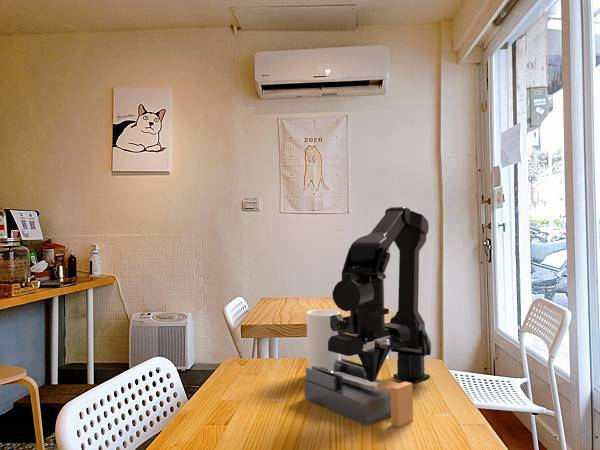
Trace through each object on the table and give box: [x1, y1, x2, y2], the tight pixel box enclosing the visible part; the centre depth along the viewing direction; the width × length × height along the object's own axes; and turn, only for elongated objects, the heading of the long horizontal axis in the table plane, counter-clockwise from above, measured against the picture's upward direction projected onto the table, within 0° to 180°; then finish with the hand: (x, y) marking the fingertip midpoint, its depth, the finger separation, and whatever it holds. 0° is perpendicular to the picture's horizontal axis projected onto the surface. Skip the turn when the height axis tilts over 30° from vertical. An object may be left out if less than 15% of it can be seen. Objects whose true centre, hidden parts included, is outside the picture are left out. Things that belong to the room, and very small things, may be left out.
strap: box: [330, 370, 381, 392], centre depth 95 cm, size 14×3×1 cm, turn 39°
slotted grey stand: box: [303, 357, 391, 427], centre depth 94 cm, size 12×18×6 cm, turn 39°
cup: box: [306, 308, 342, 371], centre depth 112 cm, size 8×8×16 cm
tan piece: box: [377, 380, 414, 428], centre depth 86 cm, size 4×5×7 cm
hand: (371, 381), depth 90 cm, fingers closed
